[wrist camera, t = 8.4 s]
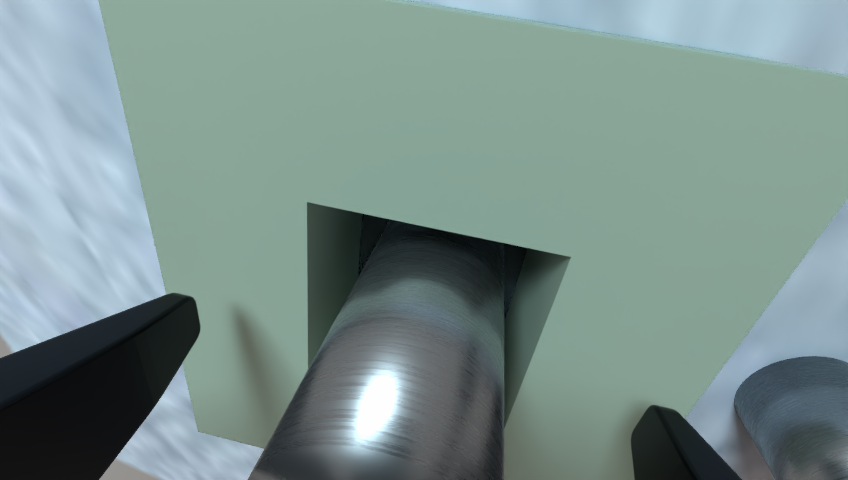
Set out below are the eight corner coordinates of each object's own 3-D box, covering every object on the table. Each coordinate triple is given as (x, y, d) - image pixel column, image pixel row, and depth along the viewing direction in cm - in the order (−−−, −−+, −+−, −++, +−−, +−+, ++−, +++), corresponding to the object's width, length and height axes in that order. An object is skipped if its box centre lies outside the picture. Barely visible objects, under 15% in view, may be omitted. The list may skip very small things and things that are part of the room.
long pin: (517, 199, 11) (538, 495, 4) (489, 298, 13) (472, 619, 6) (394, 174, 12) (232, 418, 5) (383, 274, 13) (254, 557, 6)
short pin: (897, 372, 12) (1056, 519, 8) (821, 443, 14) (927, 589, 10) (772, 345, 12) (877, 477, 9) (713, 418, 14) (781, 552, 10)
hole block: (761, 58, 9) (926, 90, 5) (576, 413, 15) (598, 535, 11) (235, -29, 10) (86, -49, 6) (264, 339, 16) (198, 431, 12)
